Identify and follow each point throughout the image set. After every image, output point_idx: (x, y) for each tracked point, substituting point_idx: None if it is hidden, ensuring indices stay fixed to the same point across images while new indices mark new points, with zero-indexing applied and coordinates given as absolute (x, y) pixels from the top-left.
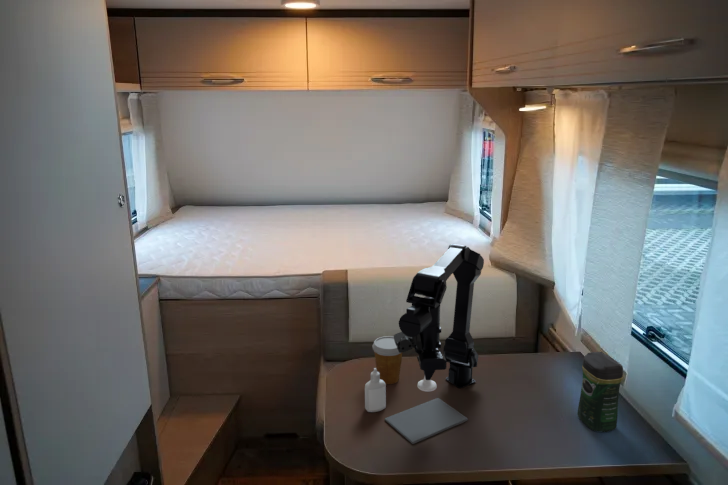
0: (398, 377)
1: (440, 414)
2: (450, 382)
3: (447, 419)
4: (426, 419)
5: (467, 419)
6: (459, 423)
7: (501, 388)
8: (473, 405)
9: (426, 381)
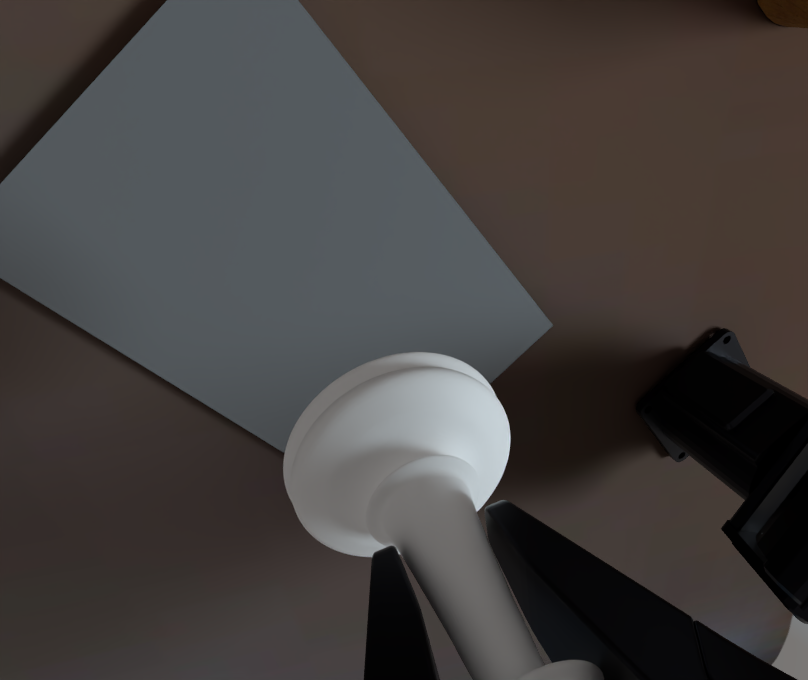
0: (799, 23)
1: None
2: (690, 357)
3: None
4: (304, 297)
5: None
6: None
7: (618, 547)
8: None
9: (387, 521)
